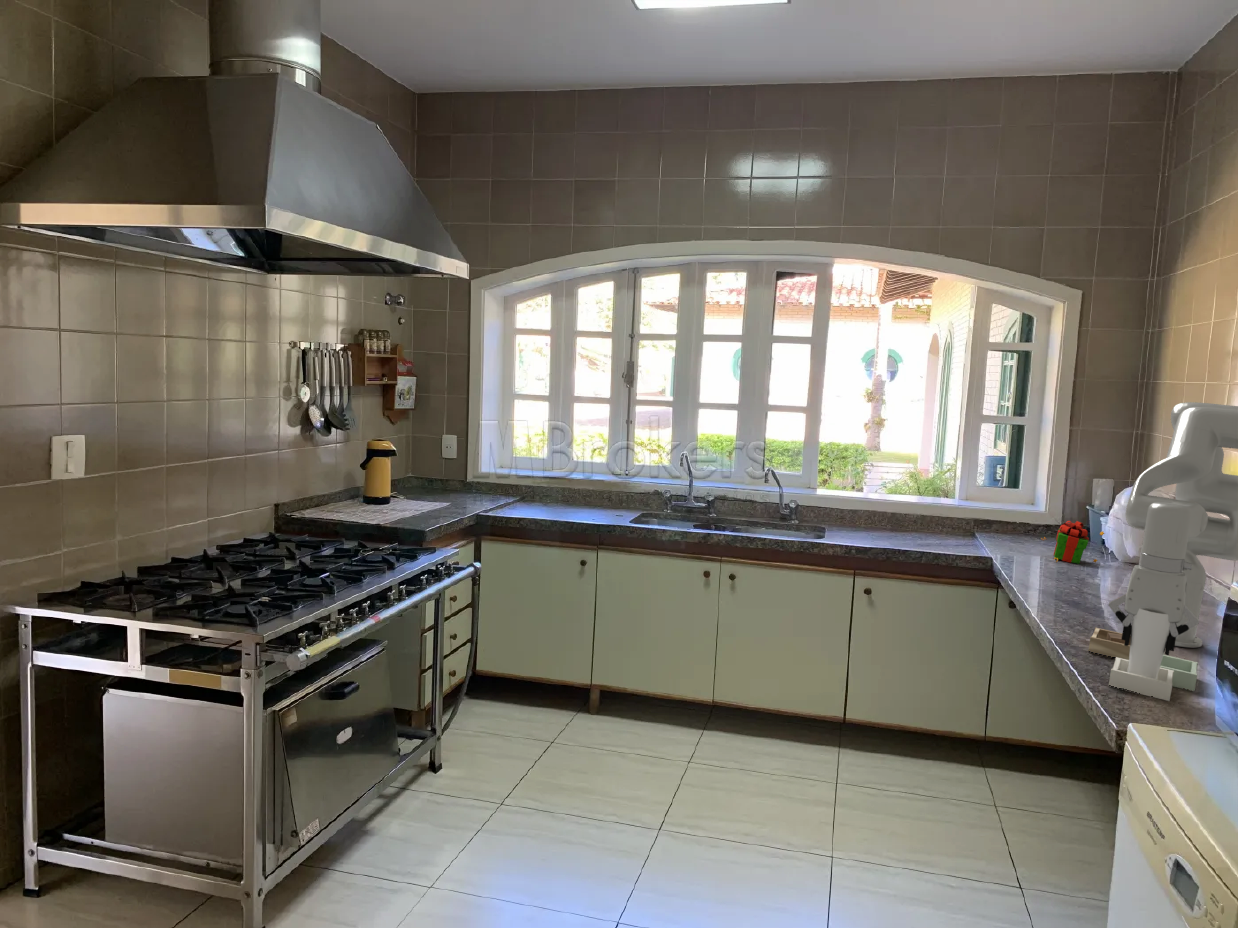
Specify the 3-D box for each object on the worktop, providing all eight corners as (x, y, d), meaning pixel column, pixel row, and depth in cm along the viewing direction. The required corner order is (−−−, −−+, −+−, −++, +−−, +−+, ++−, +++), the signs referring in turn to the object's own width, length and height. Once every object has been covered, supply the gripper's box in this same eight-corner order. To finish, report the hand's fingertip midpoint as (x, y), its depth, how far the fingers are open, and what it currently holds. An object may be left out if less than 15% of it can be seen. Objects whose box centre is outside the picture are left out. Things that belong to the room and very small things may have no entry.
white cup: (1164, 688, 172) (1177, 616, 170) (1125, 680, 174) (1138, 610, 172) (1156, 677, 178) (1169, 607, 176) (1120, 670, 181) (1132, 601, 179)
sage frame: (1138, 664, 190) (1140, 649, 190) (1195, 677, 185) (1197, 662, 184) (1134, 676, 182) (1137, 661, 182) (1194, 691, 176) (1197, 674, 176)
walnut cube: (1104, 648, 200) (1107, 632, 200) (1124, 652, 199) (1127, 635, 199) (1108, 653, 197) (1110, 637, 196) (1127, 657, 195) (1130, 640, 195)
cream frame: (1113, 672, 184) (1115, 656, 183) (1171, 686, 178) (1174, 670, 177) (1108, 685, 175) (1111, 669, 175) (1169, 701, 169) (1172, 684, 169)
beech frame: (1092, 641, 205) (1095, 627, 205) (1144, 653, 199) (1146, 638, 199) (1088, 651, 197) (1090, 637, 196) (1141, 664, 191) (1144, 649, 190)
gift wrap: (1096, 574, 288) (1108, 534, 284) (1036, 559, 295) (1047, 519, 292) (1093, 560, 305) (1105, 522, 302) (1036, 545, 313) (1047, 508, 309)
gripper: (1212, 569, 171) (1197, 655, 174) (1113, 552, 181) (1100, 633, 183) (1212, 576, 165) (1196, 665, 168) (1110, 558, 175) (1096, 642, 177)
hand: (1146, 648), depth 175 cm, fingers closed on white cup, 6 cm apart
